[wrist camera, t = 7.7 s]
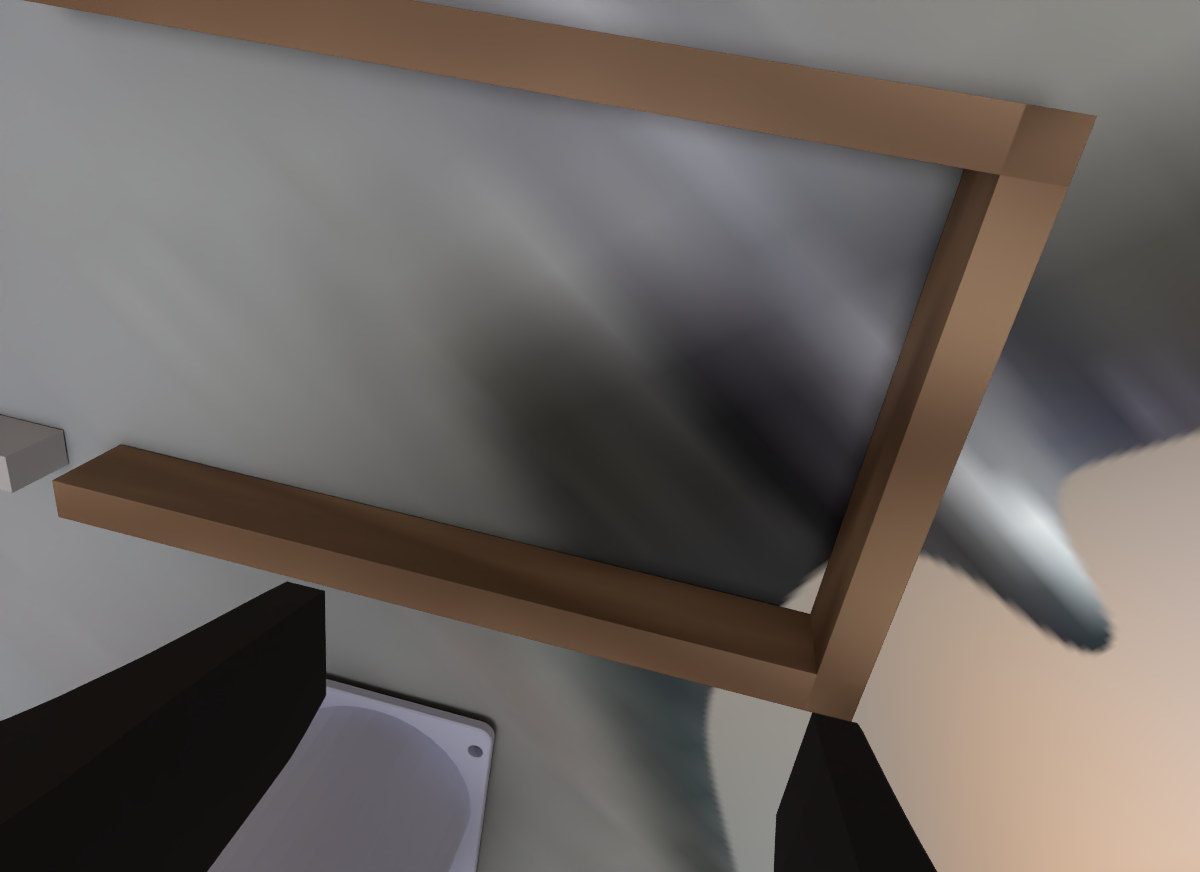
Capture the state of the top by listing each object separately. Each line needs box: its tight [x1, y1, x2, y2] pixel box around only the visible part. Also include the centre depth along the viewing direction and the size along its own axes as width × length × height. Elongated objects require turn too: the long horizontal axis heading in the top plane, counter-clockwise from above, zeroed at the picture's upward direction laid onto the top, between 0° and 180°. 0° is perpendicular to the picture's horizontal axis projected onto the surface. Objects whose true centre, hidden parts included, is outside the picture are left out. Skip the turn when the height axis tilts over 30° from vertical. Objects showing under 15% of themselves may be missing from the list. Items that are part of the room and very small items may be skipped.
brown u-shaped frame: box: [25, 0, 1097, 721], centre depth 18 cm, size 14×23×2 cm, turn 81°
